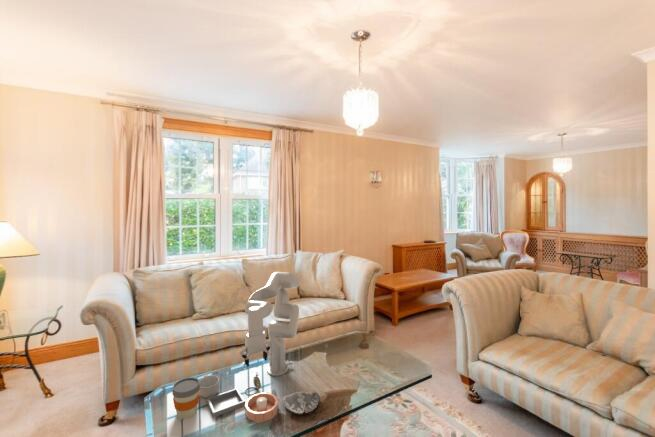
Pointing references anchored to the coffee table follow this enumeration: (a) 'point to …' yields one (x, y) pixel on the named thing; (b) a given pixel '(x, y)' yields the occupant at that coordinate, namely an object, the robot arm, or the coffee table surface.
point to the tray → (225, 402)
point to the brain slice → (301, 402)
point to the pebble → (261, 404)
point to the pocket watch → (257, 381)
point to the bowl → (266, 415)
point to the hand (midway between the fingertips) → (256, 362)
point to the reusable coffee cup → (186, 397)
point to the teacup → (209, 386)
